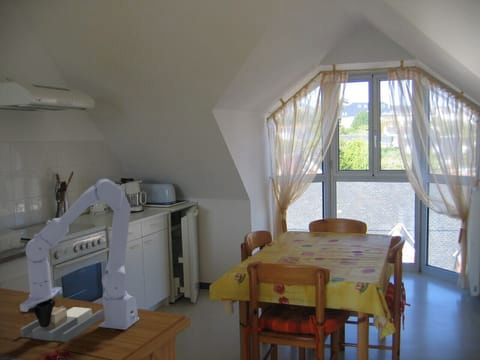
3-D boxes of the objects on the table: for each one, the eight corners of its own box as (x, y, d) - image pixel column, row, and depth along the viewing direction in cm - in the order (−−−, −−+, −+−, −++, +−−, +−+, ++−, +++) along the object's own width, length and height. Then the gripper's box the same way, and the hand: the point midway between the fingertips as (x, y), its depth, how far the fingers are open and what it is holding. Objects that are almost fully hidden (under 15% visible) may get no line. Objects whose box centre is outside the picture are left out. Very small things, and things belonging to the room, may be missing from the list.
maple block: (67, 321, 142) (66, 308, 141) (55, 328, 137) (54, 314, 137) (54, 319, 144) (52, 307, 143) (42, 326, 139) (40, 313, 138)
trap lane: (104, 317, 150) (103, 309, 150) (65, 342, 133) (64, 334, 133) (62, 313, 155) (62, 305, 155) (20, 337, 138) (19, 328, 138)
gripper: (46, 272, 143) (51, 315, 145) (9, 288, 130) (14, 335, 131) (66, 273, 141) (70, 317, 142) (29, 289, 127) (34, 338, 129)
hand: (44, 326), depth 136 cm, fingers closed
